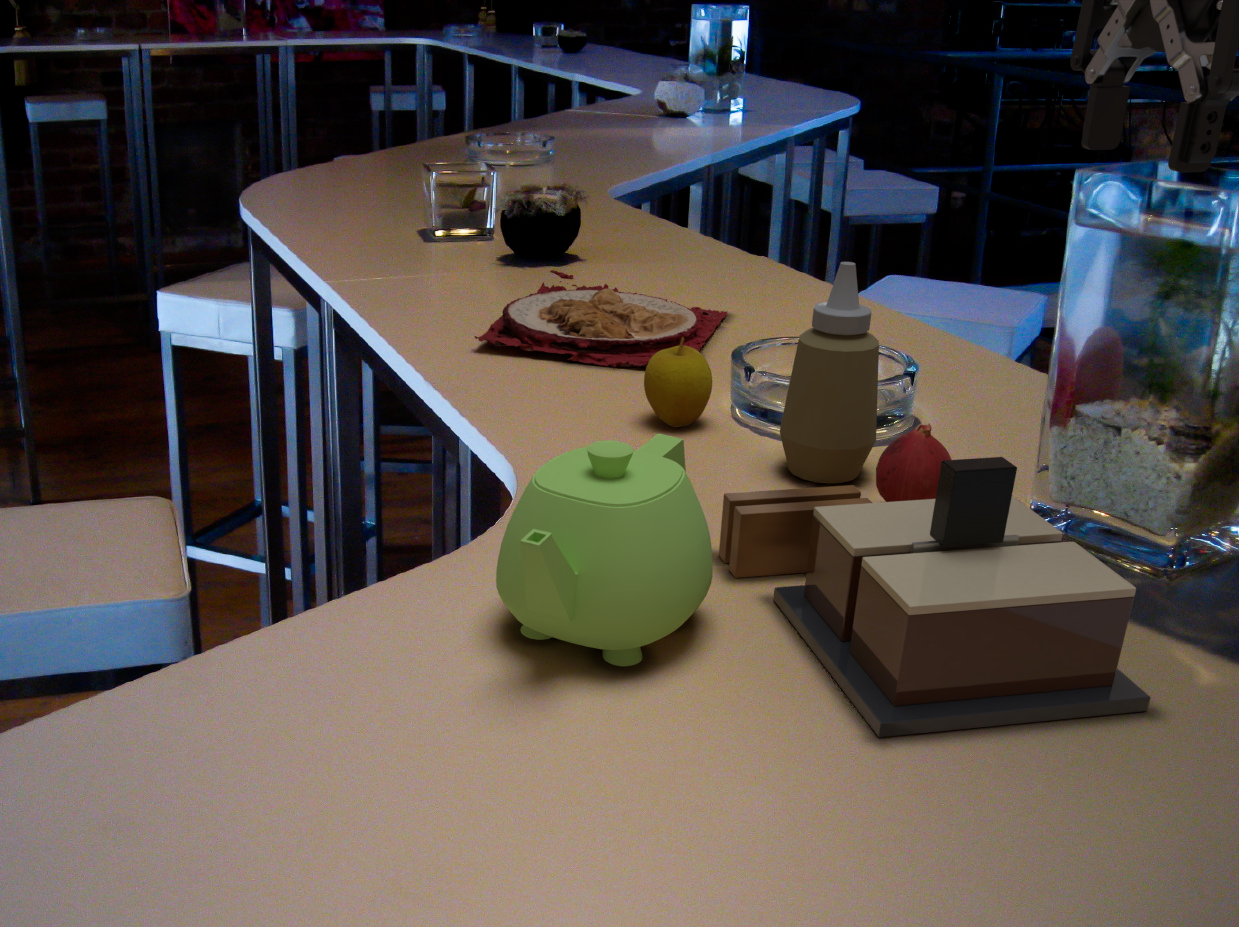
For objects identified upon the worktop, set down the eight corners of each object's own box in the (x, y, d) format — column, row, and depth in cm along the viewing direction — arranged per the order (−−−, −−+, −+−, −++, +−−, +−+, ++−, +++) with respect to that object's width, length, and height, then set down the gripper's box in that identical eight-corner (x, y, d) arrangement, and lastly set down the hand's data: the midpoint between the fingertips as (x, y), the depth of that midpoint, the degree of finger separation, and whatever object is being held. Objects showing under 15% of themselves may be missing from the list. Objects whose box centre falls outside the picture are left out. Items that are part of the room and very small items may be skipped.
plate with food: (472, 354, 140) (472, 324, 138) (542, 293, 161) (543, 267, 160) (684, 380, 133) (686, 348, 131) (728, 313, 155) (730, 285, 153)
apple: (688, 408, 123) (694, 328, 120) (721, 429, 118) (728, 346, 114) (629, 416, 121) (633, 335, 118) (660, 438, 116) (665, 353, 112)
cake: (1000, 582, 90) (1019, 483, 87) (1147, 711, 75) (1177, 597, 72) (773, 600, 87) (783, 498, 84) (878, 738, 72) (896, 621, 69)
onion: (870, 528, 98) (883, 431, 95) (869, 500, 103) (882, 407, 100) (948, 536, 97) (964, 438, 93) (944, 507, 102) (959, 413, 98)
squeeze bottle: (768, 454, 112) (789, 251, 105) (860, 456, 112) (887, 253, 104) (782, 489, 105) (805, 274, 97) (880, 492, 105) (911, 276, 97)
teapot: (620, 725, 73) (630, 527, 68) (431, 661, 79) (426, 475, 74) (754, 591, 88) (771, 420, 83) (587, 546, 95) (592, 385, 89)
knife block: (845, 545, 95) (853, 484, 93) (866, 568, 92) (875, 505, 90) (718, 555, 94) (723, 493, 91) (735, 578, 90) (741, 514, 88)
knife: (991, 627, 82) (1025, 454, 77) (1006, 640, 80) (1041, 465, 75) (890, 636, 81) (917, 461, 76) (903, 650, 79) (931, 472, 74)
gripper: (1366, -159, 62) (1282, 177, 70) (1181, -143, 75) (1125, 140, 82) (1230, -159, 61) (1159, 183, 68) (1065, -144, 74) (1019, 144, 81)
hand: (1141, 159), depth 75 cm, fingers open, 8 cm apart
